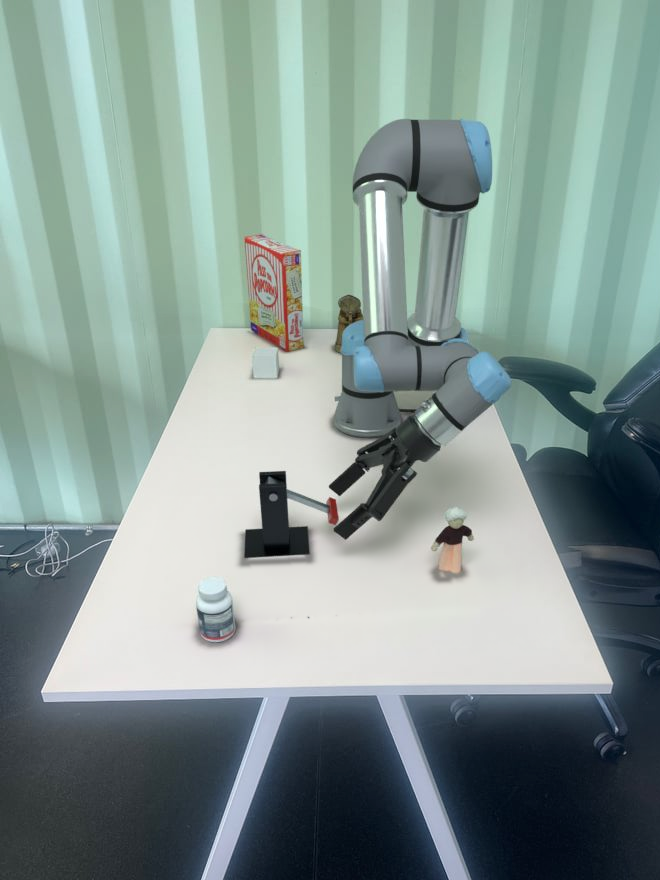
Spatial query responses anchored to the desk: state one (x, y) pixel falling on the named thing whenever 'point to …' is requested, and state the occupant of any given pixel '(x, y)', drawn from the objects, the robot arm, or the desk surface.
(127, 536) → the desk surface
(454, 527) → the grandmother figurine
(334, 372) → the desk surface
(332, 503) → the lever
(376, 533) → the desk surface
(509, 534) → the desk surface
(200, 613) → the pill bottle
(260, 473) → the bracket
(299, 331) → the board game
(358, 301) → the bronze figurine
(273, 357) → the pale blue cube
